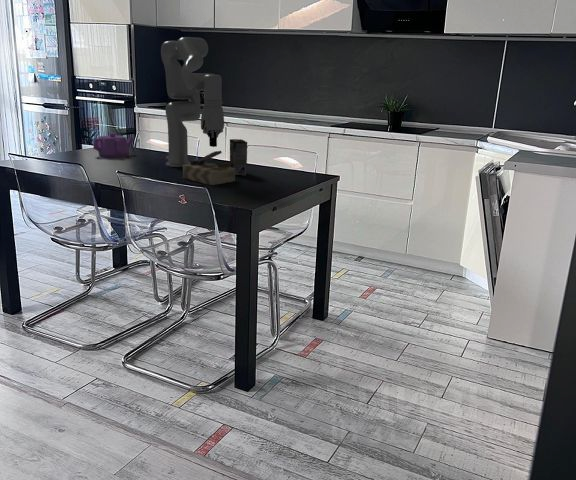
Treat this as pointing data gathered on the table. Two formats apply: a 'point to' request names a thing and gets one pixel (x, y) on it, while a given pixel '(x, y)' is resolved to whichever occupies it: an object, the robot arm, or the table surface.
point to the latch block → (209, 173)
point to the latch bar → (208, 157)
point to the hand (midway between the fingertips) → (213, 146)
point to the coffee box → (238, 156)
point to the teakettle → (112, 146)
